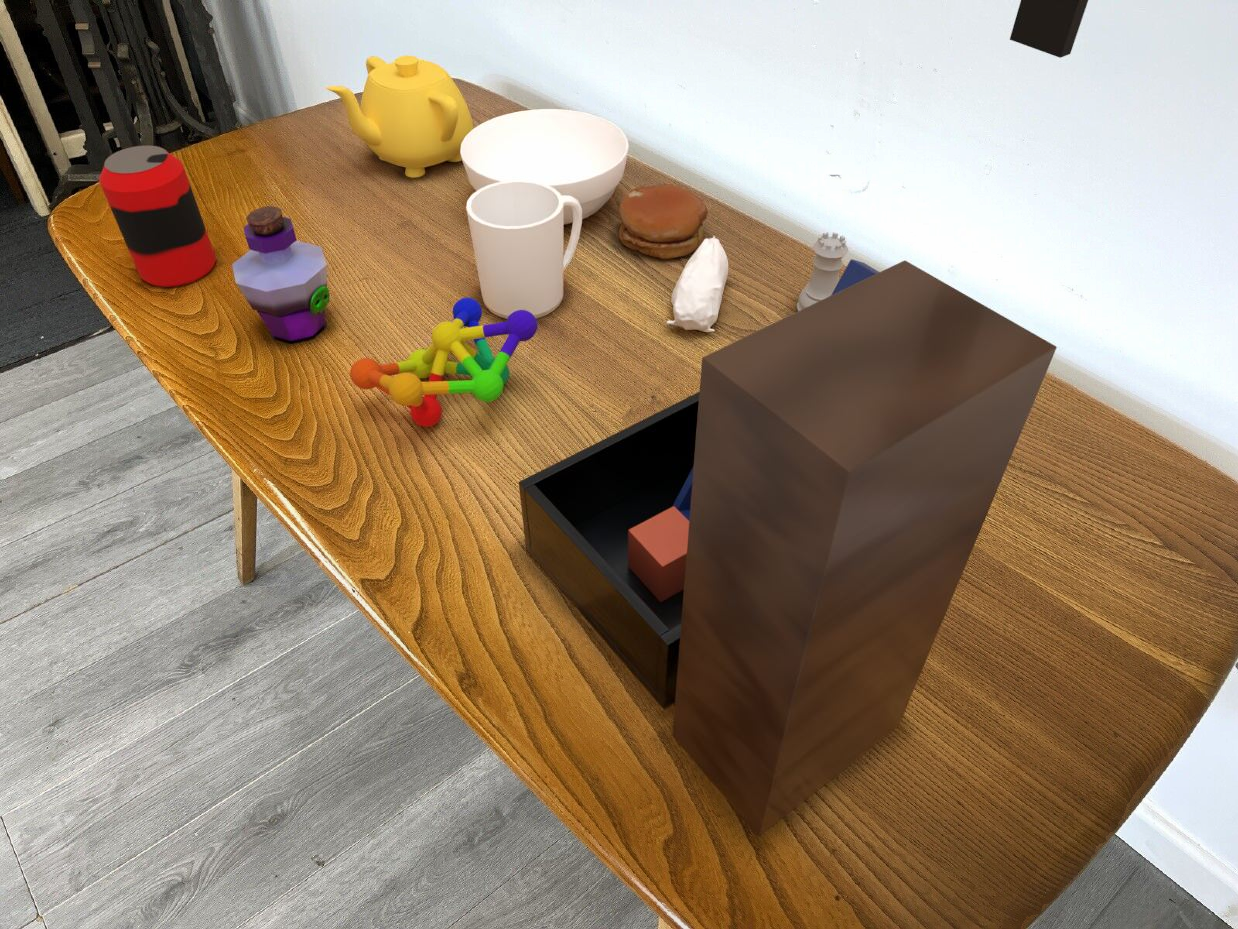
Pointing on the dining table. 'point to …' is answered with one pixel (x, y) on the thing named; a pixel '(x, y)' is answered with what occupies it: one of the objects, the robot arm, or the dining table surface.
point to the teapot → (409, 113)
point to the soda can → (157, 215)
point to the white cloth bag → (700, 288)
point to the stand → (836, 523)
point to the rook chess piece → (824, 269)
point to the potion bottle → (283, 277)
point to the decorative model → (449, 363)
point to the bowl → (549, 154)
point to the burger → (662, 221)
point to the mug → (521, 245)
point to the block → (660, 552)
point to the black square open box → (616, 536)
